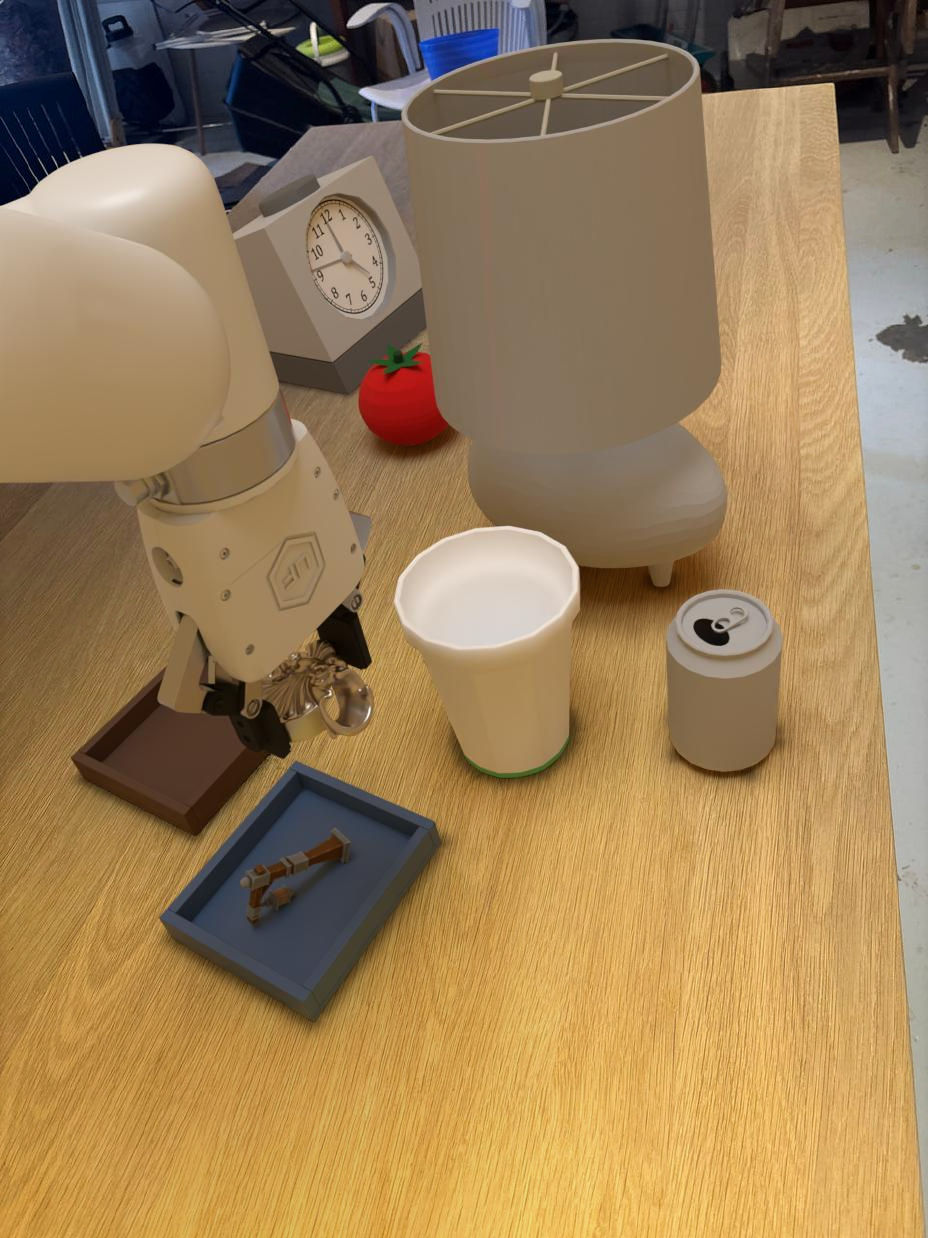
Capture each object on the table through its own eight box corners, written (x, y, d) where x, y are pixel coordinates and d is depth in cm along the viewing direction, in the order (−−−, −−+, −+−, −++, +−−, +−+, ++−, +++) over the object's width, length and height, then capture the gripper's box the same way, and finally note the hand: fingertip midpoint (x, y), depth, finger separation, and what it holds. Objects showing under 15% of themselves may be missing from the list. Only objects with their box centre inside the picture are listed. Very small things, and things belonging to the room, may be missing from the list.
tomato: (479, 414, 112) (464, 331, 105) (438, 469, 106) (420, 384, 99) (395, 405, 116) (377, 324, 110) (351, 458, 110) (328, 375, 103)
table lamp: (772, 525, 91) (799, 20, 64) (662, 688, 79) (639, 151, 52) (549, 470, 102) (493, 23, 76) (424, 605, 90) (305, 130, 64)
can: (648, 729, 76) (642, 610, 68) (730, 685, 78) (734, 565, 70) (711, 796, 71) (712, 677, 63) (798, 748, 73) (810, 626, 65)
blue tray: (314, 1022, 63) (303, 1002, 62) (171, 938, 70) (158, 917, 68) (441, 843, 72) (435, 821, 70) (304, 781, 78) (295, 760, 76)
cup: (500, 654, 84) (471, 505, 74) (629, 713, 78) (617, 558, 67) (400, 755, 78) (354, 607, 68) (531, 829, 71) (502, 677, 61)
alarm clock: (348, 394, 120) (303, 223, 106) (248, 374, 127) (194, 212, 114) (441, 312, 132) (411, 148, 118) (344, 298, 139) (305, 143, 126)
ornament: (396, 673, 61) (384, 628, 58) (355, 763, 56) (339, 719, 53) (276, 660, 63) (259, 617, 61) (227, 746, 58) (206, 702, 56)
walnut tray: (195, 836, 76) (183, 815, 74) (83, 778, 82) (69, 757, 80) (316, 701, 84) (308, 679, 82) (206, 657, 90) (196, 636, 88)
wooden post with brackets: (230, 919, 68) (234, 866, 66) (328, 875, 73) (335, 824, 71) (245, 936, 67) (249, 882, 65) (344, 890, 72) (350, 839, 70)
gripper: (128, 574, 40) (259, 840, 52) (386, 360, 50) (447, 625, 62) (12, 530, 44) (159, 787, 56) (273, 338, 54) (351, 592, 66)
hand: (309, 700), depth 59 cm, fingers closed on ornament, 6 cm apart
